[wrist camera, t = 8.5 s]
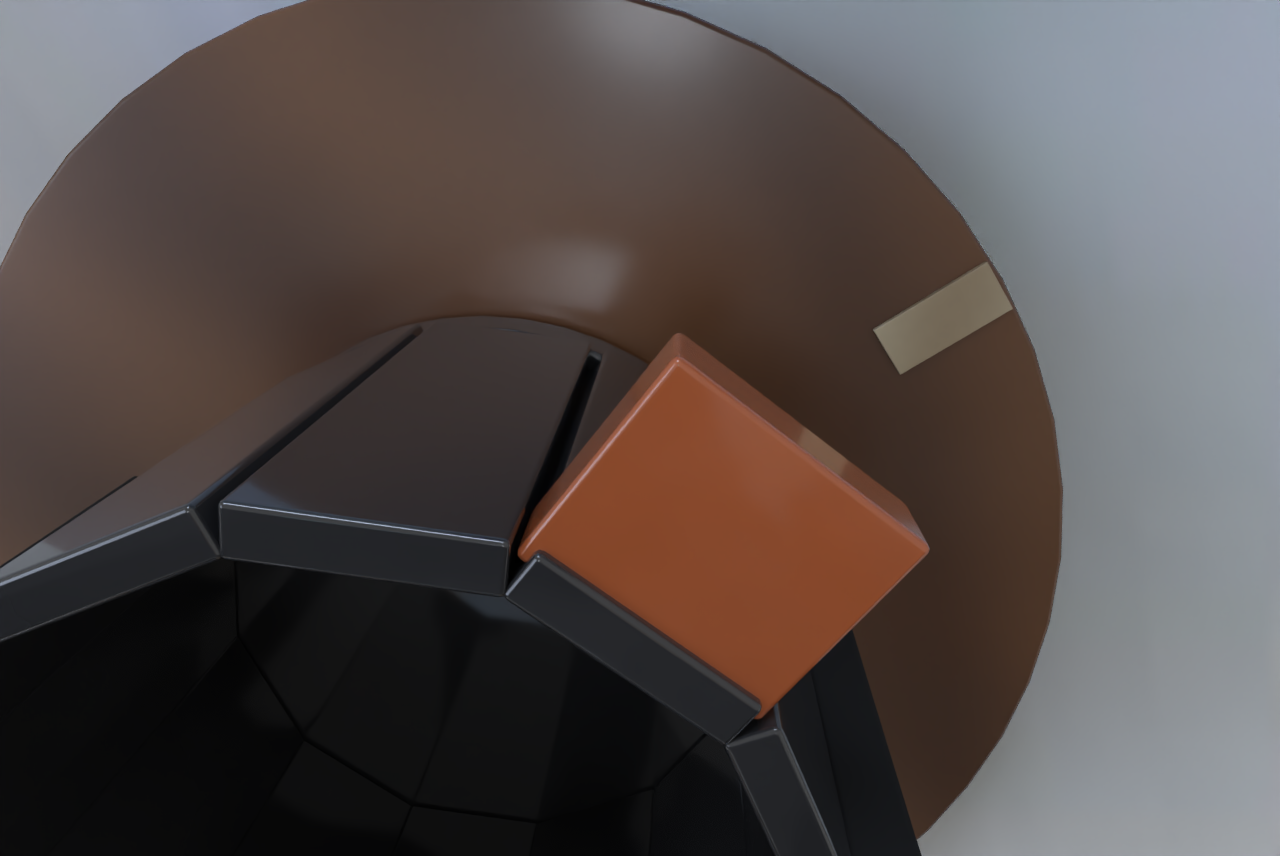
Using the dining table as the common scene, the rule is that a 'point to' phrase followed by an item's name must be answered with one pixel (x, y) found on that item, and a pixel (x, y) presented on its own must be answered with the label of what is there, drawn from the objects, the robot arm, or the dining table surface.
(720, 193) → the turntable
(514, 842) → the cooking pot
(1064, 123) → the dining table surface
